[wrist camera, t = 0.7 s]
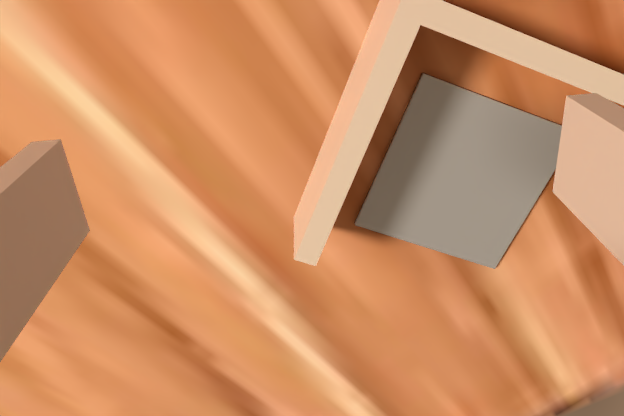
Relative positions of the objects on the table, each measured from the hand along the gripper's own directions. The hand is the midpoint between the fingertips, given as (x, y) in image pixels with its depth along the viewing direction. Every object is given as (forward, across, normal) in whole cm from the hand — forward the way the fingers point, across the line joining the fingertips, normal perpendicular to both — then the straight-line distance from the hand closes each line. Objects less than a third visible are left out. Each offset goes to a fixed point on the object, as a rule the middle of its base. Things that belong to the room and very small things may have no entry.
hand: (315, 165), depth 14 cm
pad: (+22, +10, -12) cm, 27 cm away
